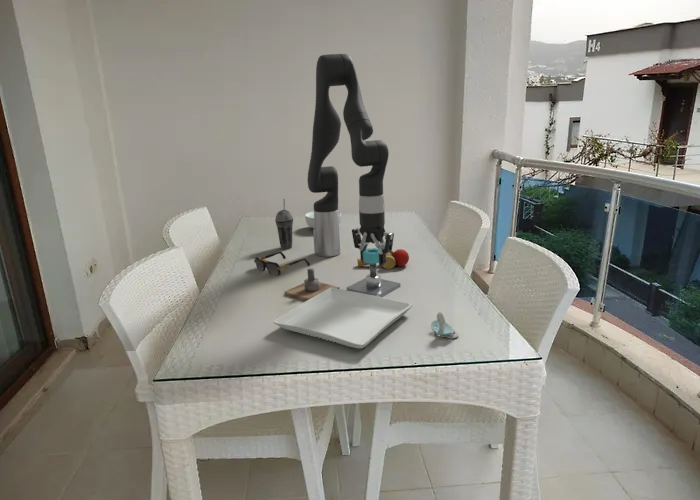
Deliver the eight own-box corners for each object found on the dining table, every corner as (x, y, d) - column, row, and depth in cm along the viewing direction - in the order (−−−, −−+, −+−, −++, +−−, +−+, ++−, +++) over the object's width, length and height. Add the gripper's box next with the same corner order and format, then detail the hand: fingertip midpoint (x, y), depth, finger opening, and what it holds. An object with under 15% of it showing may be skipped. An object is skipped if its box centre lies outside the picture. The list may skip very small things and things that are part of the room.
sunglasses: (310, 266, 176) (309, 253, 175) (277, 278, 166) (275, 264, 164) (285, 259, 185) (284, 246, 184) (252, 270, 175) (251, 256, 173)
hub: (346, 290, 151) (345, 263, 148) (369, 279, 160) (368, 252, 157) (378, 298, 144) (377, 270, 141) (400, 286, 153) (400, 258, 150)
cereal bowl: (341, 232, 217) (340, 217, 215) (304, 234, 218) (303, 218, 216) (342, 223, 234) (341, 209, 231) (307, 224, 234) (306, 210, 232)
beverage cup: (274, 249, 197) (269, 200, 191) (283, 244, 203) (279, 197, 197) (290, 251, 194) (286, 201, 188) (298, 245, 200) (295, 197, 194)
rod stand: (284, 294, 150) (282, 271, 148) (311, 282, 159) (309, 260, 157) (313, 303, 143) (311, 279, 141) (339, 290, 152) (338, 267, 149)
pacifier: (450, 327, 125) (428, 329, 124) (451, 304, 123) (429, 306, 122) (462, 340, 118) (439, 342, 117) (464, 316, 116) (440, 318, 115)
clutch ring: (359, 261, 149) (359, 252, 148) (370, 256, 153) (370, 247, 152) (375, 264, 145) (375, 255, 144) (386, 259, 150) (385, 249, 149)
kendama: (358, 274, 168) (410, 266, 167) (355, 256, 168) (407, 248, 166) (360, 271, 176) (409, 263, 175) (357, 253, 176) (406, 245, 174)
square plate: (363, 359, 112) (363, 344, 110) (272, 334, 126) (270, 320, 124) (413, 314, 133) (413, 301, 132) (331, 297, 147) (330, 285, 146)
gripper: (344, 209, 146) (347, 263, 151) (385, 214, 138) (386, 270, 143) (359, 205, 152) (360, 256, 157) (399, 209, 143) (399, 263, 148)
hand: (373, 263), depth 150 cm, fingers closed on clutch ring, 5 cm apart
